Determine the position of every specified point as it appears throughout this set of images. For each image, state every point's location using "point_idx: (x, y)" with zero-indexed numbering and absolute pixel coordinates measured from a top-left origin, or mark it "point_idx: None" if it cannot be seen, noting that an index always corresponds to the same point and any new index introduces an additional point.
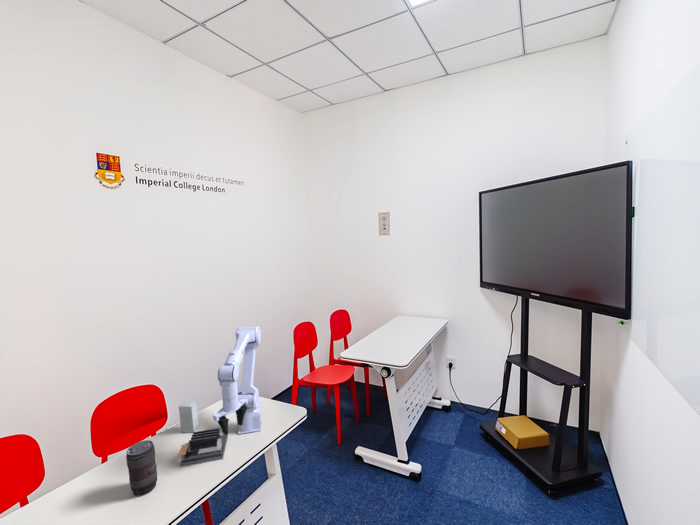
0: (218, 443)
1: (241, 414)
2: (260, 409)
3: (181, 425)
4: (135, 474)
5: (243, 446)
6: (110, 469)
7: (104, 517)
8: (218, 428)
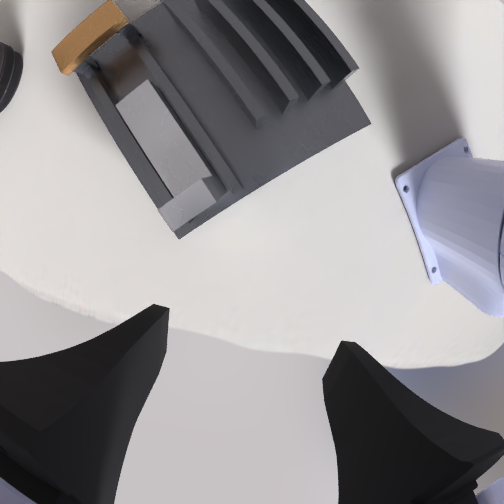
0: (166, 218)
1: (345, 482)
2: None
3: None
4: None
5: (307, 276)
6: None
7: None
8: (350, 66)
